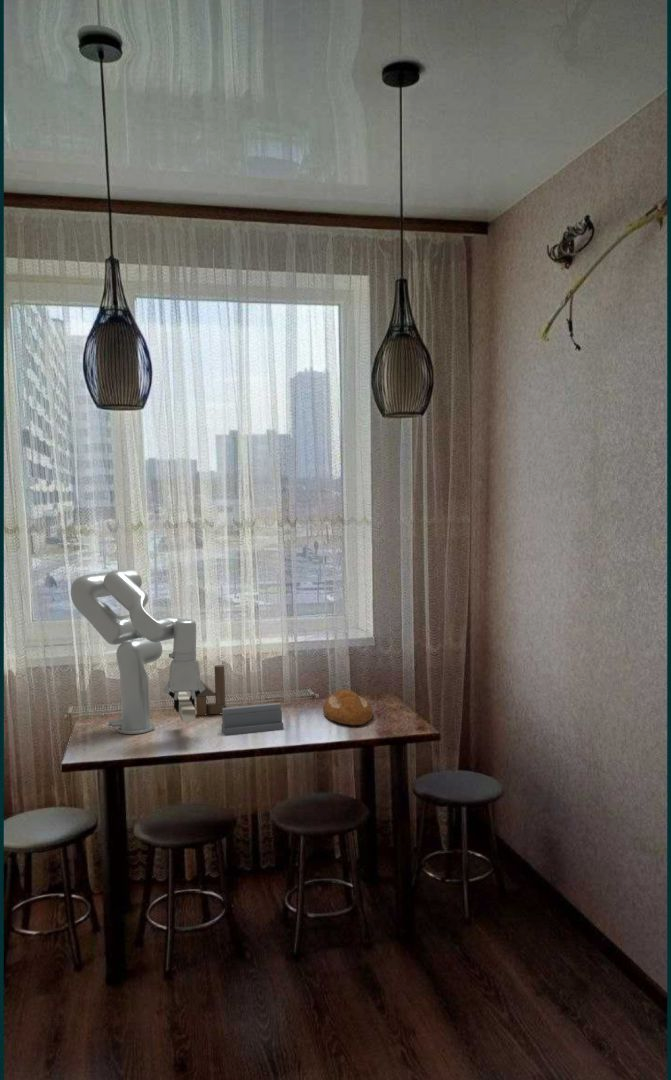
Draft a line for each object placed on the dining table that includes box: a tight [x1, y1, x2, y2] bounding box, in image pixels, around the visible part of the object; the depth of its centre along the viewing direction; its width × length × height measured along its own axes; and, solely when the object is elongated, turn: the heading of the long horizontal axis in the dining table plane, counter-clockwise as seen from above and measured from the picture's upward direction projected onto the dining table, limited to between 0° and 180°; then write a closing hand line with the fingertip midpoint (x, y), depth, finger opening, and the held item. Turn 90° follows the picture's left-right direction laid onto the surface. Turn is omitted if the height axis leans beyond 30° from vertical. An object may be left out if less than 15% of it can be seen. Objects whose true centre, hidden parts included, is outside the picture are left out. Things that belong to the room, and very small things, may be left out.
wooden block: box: [195, 664, 227, 716], centre depth 314 cm, size 4×11×18 cm, turn 98°
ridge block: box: [221, 702, 284, 736], centre depth 291 cm, size 20×8×8 cm, turn 107°
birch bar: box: [177, 691, 196, 723], centre depth 285 cm, size 24×4×4 cm, turn 17°
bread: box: [322, 688, 374, 727], centre depth 307 cm, size 18×35×9 cm, turn 8°
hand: (184, 709), depth 285 cm, fingers closed on birch bar, 4 cm apart
